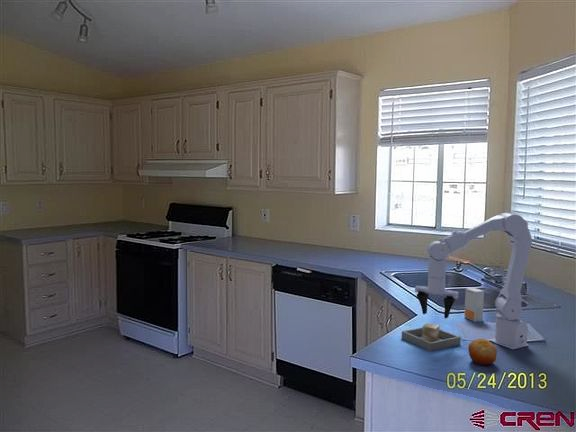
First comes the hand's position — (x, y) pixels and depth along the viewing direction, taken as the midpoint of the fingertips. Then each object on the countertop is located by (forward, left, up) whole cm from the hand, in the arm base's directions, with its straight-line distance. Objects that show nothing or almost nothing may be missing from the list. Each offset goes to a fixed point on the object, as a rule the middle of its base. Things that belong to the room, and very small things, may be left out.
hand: (435, 315), depth 166 cm
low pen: (-1, +3, -8) cm, 9 cm away
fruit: (-22, +3, -9) cm, 24 cm away
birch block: (-1, +3, -8) cm, 8 cm away
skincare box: (+10, -31, -9) cm, 34 cm away
